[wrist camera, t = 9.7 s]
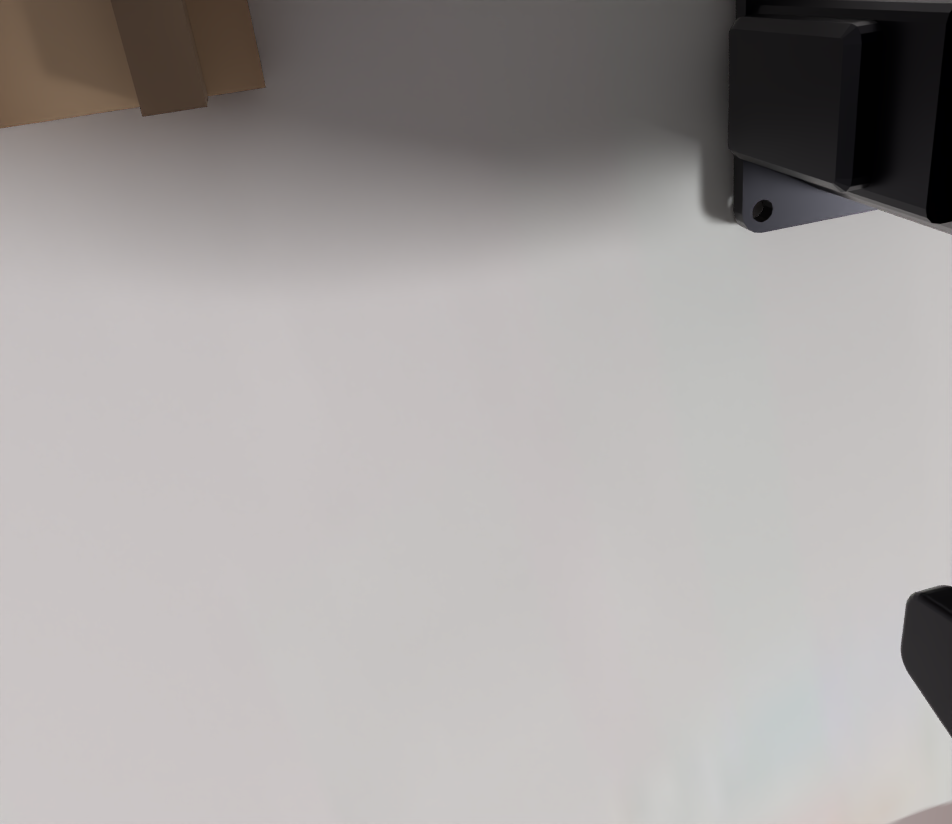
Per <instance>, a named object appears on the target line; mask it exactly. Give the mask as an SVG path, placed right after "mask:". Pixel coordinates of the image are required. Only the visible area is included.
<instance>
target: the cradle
mask: <svg viewBox="0 0 952 824" xmlns="http://www.w3.org/2000/svg"><path fill="white" fill-rule="evenodd" d="M265 87H266V86H265V81H264V77H263V72H262V67H261V63H260V58H259V53H258V49H257V44H256V39H255V34H254V30H253V25H252V20H251V16H250V11H249V6H248V2H247V0H0V128H6V127H12V126H19V125H25V124H32V123H38V122H45V121H51V120H58V119H64V118H71V117H77V116H84V115H90V114H97V113H103V112H110V111H116V110H122V109H129V108H135V107H140V109H141V113H142V116H143V117H144V116H150V115H156V114H163V113H169V112H176V111H182V110H188V109H195V108H201V107H207V102H208V96H213V95H220V94H226V93H233V92H239V91H246V90H252V89H259V88H265Z"/></svg>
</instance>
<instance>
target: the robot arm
mask: <svg viewBox="0 0 952 824" xmlns="http://www.w3.org/2000/svg"><path fill="white" fill-rule="evenodd" d="M728 147H729V149H730V150H731V151H732V152H733V153H734V216H735V220H736V221H737V223H738V224H739V225H740V226H742V227H744V228H746V229H748V230H750V231H752V232H757V233H762V232H767V231H772V230H777V229H782V228H787V227H792V226H797V225H802V224H807V223H812V222H817V221H822V220H827V219H832V218H837V217H842V216H847V215H852V214H857V213H862V212H867V211H872V210H877V209H879V210H881V211H884V212H887V213H890V214H893V215H896V216H899V217H902V218H905V219H908V220H911V221H914V222H916V223H919V224H922V225H925V226H928V227H931V228H934V229H937V230H940V231H943V232H946V233H949V234H952V0H736V21H735V23H734V24H733V26H732V27H731V29H730V31H729V107H728ZM761 200H763V204H764V206H763V210H762V212H761V213H760V214H759V216H757V217H755V218H753V214H752V212H753V208H754V206H755V205H756V203H757V202H759V201H761ZM901 656H902V660H903V663H904V666H905V668H906V670H907V672H908V673H909V675H910V676H911V678H912V679H913V681H914V682H915V684H916V685H917V687H918V688H919V690H920V691H921V693H922V694H923V696H924V697H925V699H926V700H927V702H928V703H929V705H930V706H931V708H932V709H933V711H934V712H935V714H936V715H937V717H938V718H939V720H940V721H941V723H942V724H943V725H944V727H945V728H946V730H947V731H948V733H949V734H950V736H951V737H952V587H951V586H946V585H941V586H936V587H933V588H929V589H925V590H922V591H918V592H915V593H913V594H912V595H911V596H910V597H909V599H908V600H907V603H906V609H905V617H904V625H903V633H902V641H901Z"/></svg>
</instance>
